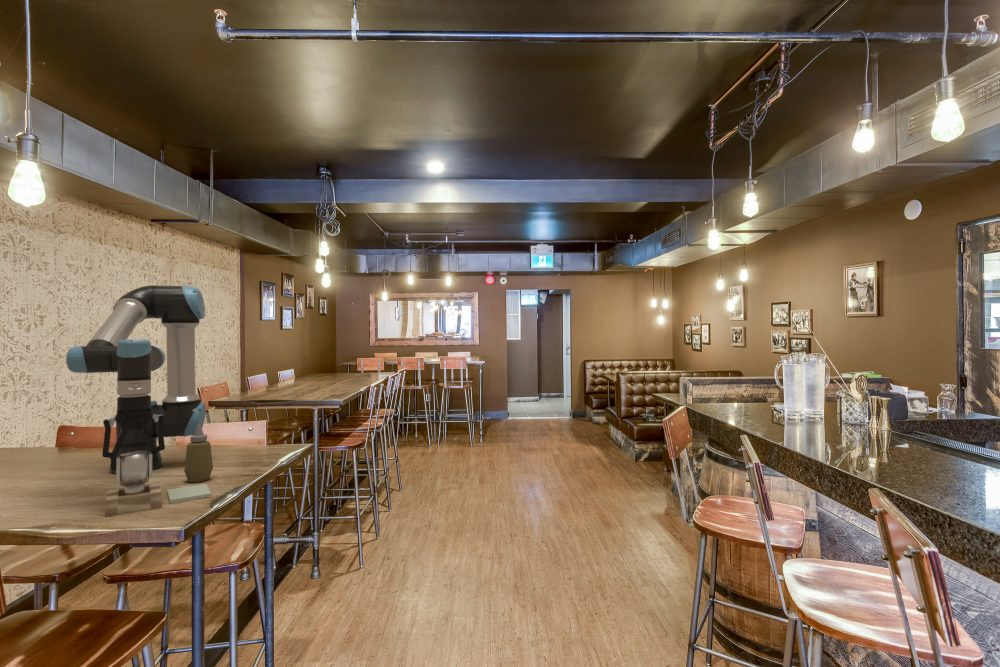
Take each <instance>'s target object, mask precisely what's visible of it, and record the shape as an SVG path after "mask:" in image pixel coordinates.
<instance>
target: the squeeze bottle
mask: <svg viewBox="0 0 1000 667" xmlns="http://www.w3.org/2000/svg"><path fill="white" fill-rule="evenodd" d="M189 437H190V442H189V443H188V444H187V445H186V454H185V462H184V469H183V472H184V474H185V476H186V480H187V482H189V483H199V482H198V481H201V482H205V481H208V480H210V477H211V474H212V471H213V469H214V464H213V456H212V448H211V447H212V446H211V442H210V441H209V440H208V434H204V431H203V427H201V424H198V425H197V426H196V430H195V434H194V435H191V436H189ZM207 479H208V480H207ZM204 480H205V481H204Z"/></svg>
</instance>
